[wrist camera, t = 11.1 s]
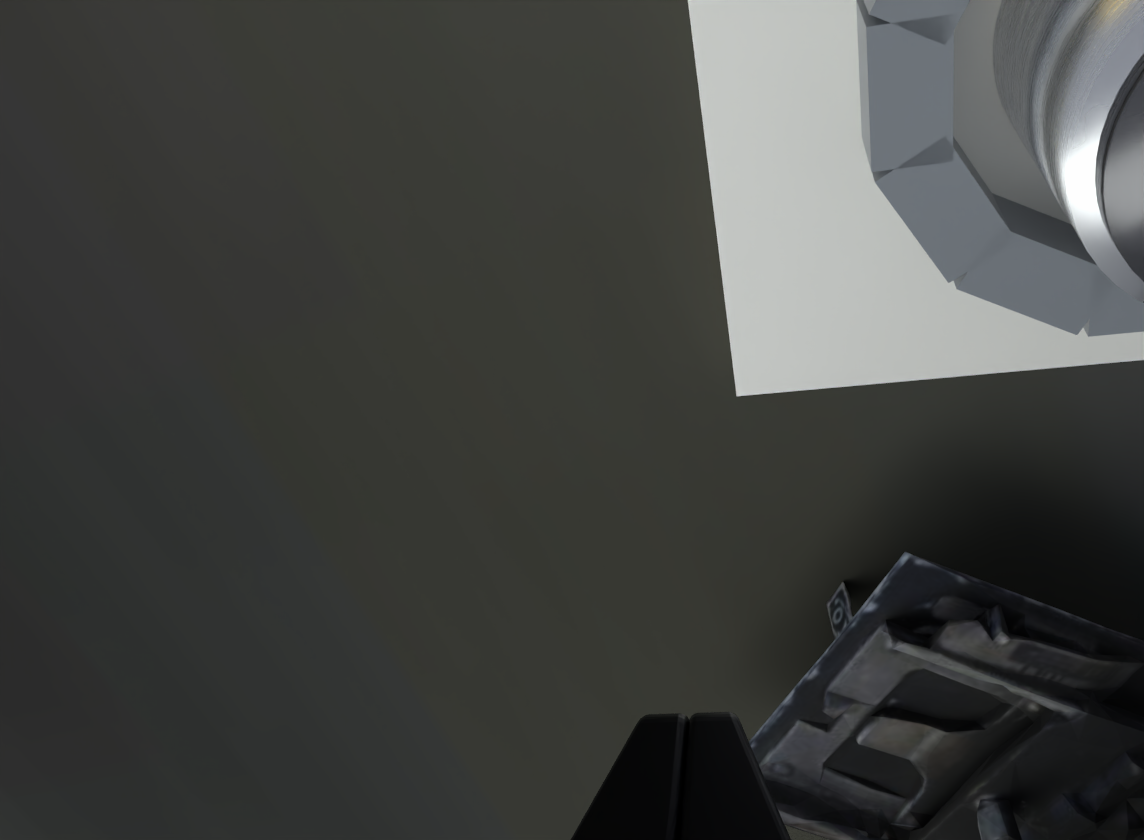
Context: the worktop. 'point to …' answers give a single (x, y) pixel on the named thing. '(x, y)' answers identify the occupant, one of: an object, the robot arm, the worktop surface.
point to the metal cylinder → (1082, 117)
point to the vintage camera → (960, 719)
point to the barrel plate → (885, 202)
